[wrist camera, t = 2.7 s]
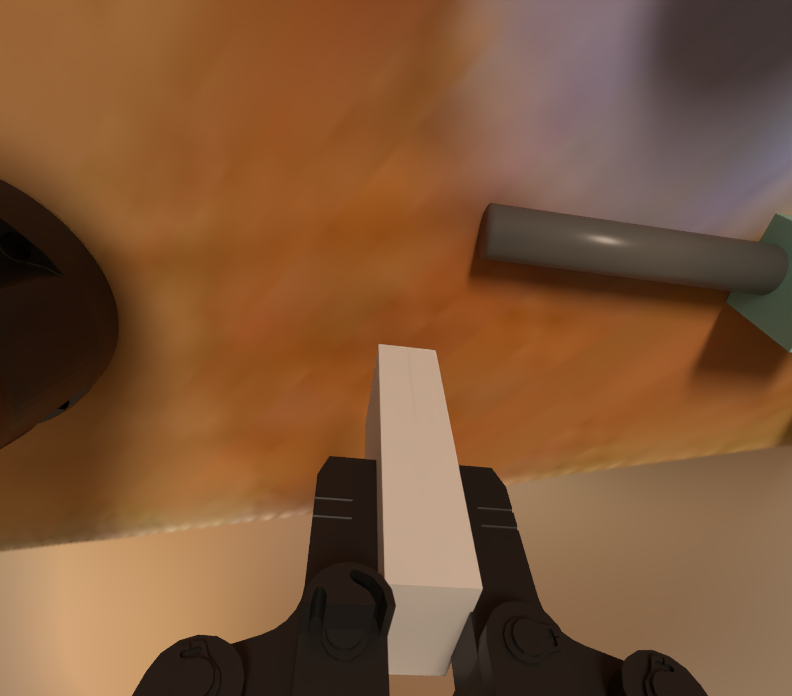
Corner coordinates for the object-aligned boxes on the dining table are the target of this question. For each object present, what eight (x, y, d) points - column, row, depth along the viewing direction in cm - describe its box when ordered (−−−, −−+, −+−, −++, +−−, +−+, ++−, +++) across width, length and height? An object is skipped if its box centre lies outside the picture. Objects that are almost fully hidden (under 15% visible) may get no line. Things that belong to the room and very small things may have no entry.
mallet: (469, 269, 28) (488, 317, 24) (494, 170, 26) (522, 202, 21) (812, 313, 31) (890, 363, 27) (871, 228, 28) (969, 268, 24)
